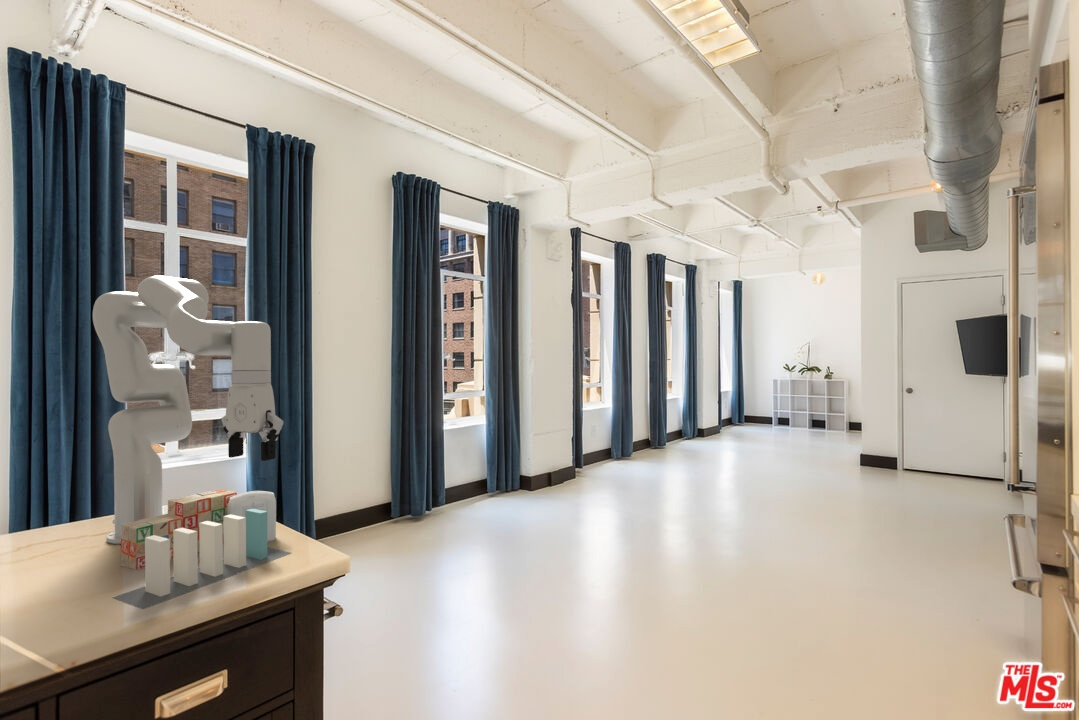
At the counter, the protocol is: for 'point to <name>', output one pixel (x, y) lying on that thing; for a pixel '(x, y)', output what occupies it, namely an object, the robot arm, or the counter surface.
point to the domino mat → (176, 589)
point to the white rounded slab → (255, 507)
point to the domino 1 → (157, 565)
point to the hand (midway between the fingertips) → (251, 458)
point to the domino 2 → (185, 556)
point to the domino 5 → (256, 533)
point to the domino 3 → (211, 548)
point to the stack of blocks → (172, 523)
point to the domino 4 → (234, 540)
